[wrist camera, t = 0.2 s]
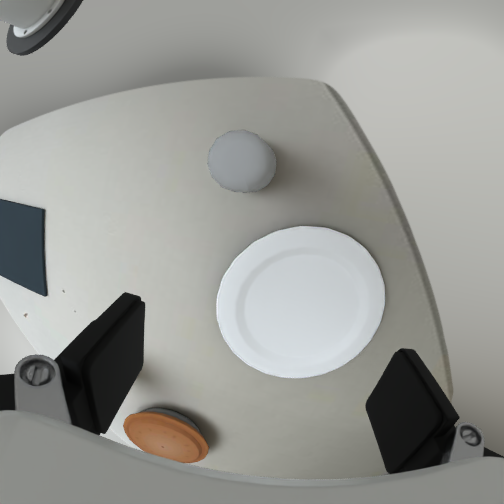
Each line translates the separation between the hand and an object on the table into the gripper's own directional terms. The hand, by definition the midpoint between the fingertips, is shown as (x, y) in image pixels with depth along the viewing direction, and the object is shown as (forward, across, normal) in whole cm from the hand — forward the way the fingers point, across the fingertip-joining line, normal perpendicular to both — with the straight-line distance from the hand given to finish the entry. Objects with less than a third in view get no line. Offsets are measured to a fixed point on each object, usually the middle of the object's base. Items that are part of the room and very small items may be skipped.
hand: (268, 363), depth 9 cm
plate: (+24, -7, +8) cm, 26 cm away
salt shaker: (+24, +4, -6) cm, 25 cm away
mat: (+23, +38, +11) cm, 46 cm away
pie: (+24, +8, +39) cm, 46 cm away
